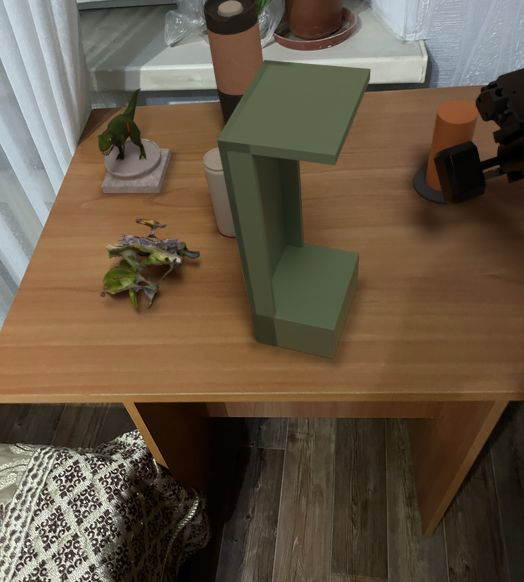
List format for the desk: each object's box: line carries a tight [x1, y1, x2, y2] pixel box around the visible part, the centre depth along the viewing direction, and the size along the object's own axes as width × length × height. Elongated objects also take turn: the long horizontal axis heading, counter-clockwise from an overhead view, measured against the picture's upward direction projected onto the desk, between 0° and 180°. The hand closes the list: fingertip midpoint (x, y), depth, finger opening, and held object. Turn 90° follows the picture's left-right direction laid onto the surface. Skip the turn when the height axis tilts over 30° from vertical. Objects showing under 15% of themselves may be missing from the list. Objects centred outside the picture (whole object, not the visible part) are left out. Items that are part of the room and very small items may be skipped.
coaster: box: [412, 163, 449, 205], centre depth 81 cm, size 9×9×1 cm
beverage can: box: [202, 146, 236, 238], centre depth 76 cm, size 5×5×12 cm
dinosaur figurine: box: [96, 87, 172, 194], centre depth 86 cm, size 9×20×12 cm, turn 174°
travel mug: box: [203, 0, 264, 126], centre depth 85 cm, size 8×8×20 cm
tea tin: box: [426, 99, 480, 191], centre depth 77 cm, size 5×5×11 cm
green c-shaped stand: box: [216, 59, 371, 360], centre depth 59 cm, size 10×12×29 cm
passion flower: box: [99, 218, 201, 310], centre depth 73 cm, size 11×11×12 cm
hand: (476, 167), depth 73 cm, fingers open, 9 cm apart
